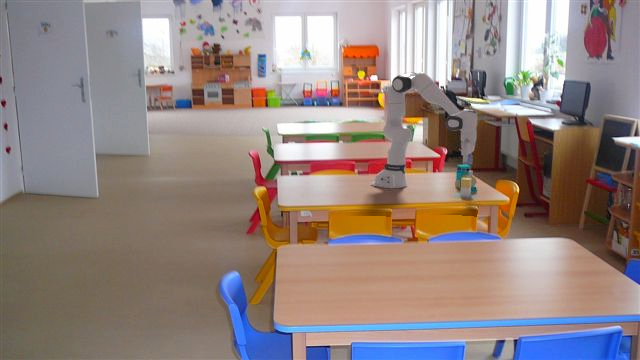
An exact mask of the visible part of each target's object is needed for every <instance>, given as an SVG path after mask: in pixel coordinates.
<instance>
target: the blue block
mask: <svg viewBox="0 0 640 360" xmlns="http://www.w3.org/2000/svg"><path fill="white" fill-rule="evenodd" d="M473 161H474V155H473V154H471V155H468V162H464V155H462V165H469V166H472V165H473Z"/></svg>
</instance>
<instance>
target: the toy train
mask: <svg viewBox="0 0 640 360" xmlns="http://www.w3.org/2000/svg"><path fill="white" fill-rule="evenodd" d="M459 168H460V169H459ZM468 169H469V170H468ZM467 170H468V171H467ZM473 172H474V171H473V170H472V165H466V164H457V165H456V174H455V182H454V187H455V188H457V189H460V190H461V179H462V178H472V181H471V193H474V192H478V189H477V187H476V184H477V178H476V177H475V176H473Z"/></svg>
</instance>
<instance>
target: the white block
mask: <svg viewBox="0 0 640 360" xmlns="http://www.w3.org/2000/svg"><path fill="white" fill-rule="evenodd" d="M471 194H472V192H471V187H470V188H461V189H460V196H467V197H469V196H470V195H471Z"/></svg>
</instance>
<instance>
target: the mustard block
mask: <svg viewBox="0 0 640 360" xmlns="http://www.w3.org/2000/svg"><path fill="white" fill-rule="evenodd" d="M471 181H472V178H462V179H461V188H470V187H471Z"/></svg>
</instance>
